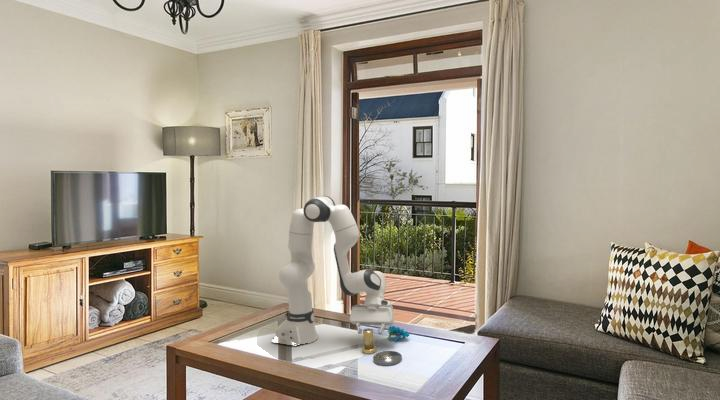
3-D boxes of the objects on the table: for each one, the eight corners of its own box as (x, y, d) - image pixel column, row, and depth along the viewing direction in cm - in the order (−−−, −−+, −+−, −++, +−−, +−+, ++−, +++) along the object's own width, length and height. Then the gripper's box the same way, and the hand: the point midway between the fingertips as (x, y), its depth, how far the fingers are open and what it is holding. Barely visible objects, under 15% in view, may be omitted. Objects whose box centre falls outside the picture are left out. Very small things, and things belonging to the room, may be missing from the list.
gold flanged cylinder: (360, 353, 196) (358, 332, 195) (364, 347, 202) (363, 327, 201) (374, 354, 194) (372, 333, 193) (378, 348, 200) (376, 328, 199)
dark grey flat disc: (369, 364, 184) (369, 361, 184) (377, 352, 196) (377, 349, 196) (398, 366, 181) (398, 363, 180) (404, 354, 192) (404, 351, 192)
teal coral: (413, 335, 208) (401, 325, 203) (410, 347, 205) (397, 337, 200) (395, 333, 215) (383, 323, 210) (391, 345, 212) (379, 335, 207)
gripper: (350, 301, 208) (345, 329, 199) (393, 301, 202) (390, 331, 193) (354, 307, 212) (349, 335, 204) (396, 308, 206) (393, 337, 198)
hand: (369, 333), depth 198 cm, fingers open, 8 cm apart
